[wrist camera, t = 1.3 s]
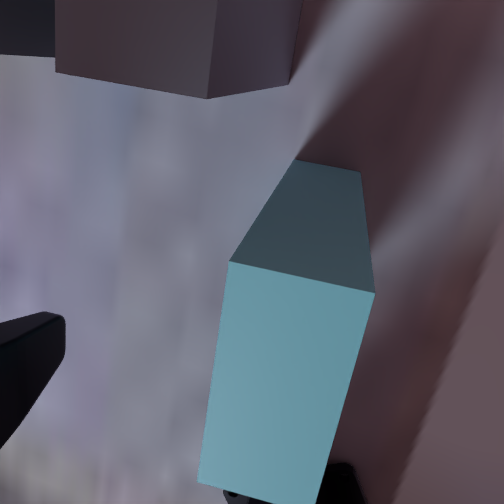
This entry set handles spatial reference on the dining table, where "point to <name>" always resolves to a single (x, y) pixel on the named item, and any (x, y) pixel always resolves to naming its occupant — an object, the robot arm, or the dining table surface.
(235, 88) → the domino
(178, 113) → the dining table surface
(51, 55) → the domino
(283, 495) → the domino
